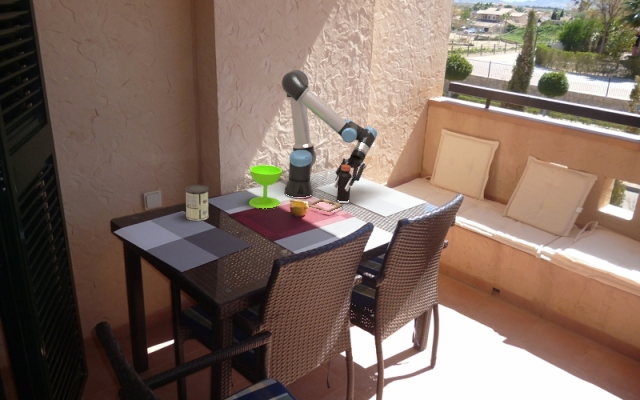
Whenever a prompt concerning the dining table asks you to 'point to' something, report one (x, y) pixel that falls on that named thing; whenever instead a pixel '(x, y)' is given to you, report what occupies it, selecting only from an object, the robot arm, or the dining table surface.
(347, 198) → the vinegar
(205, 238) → the dining table surface
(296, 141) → the robot arm
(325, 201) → the tray
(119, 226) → the dining table surface
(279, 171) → the wineglass
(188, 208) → the coffee can
